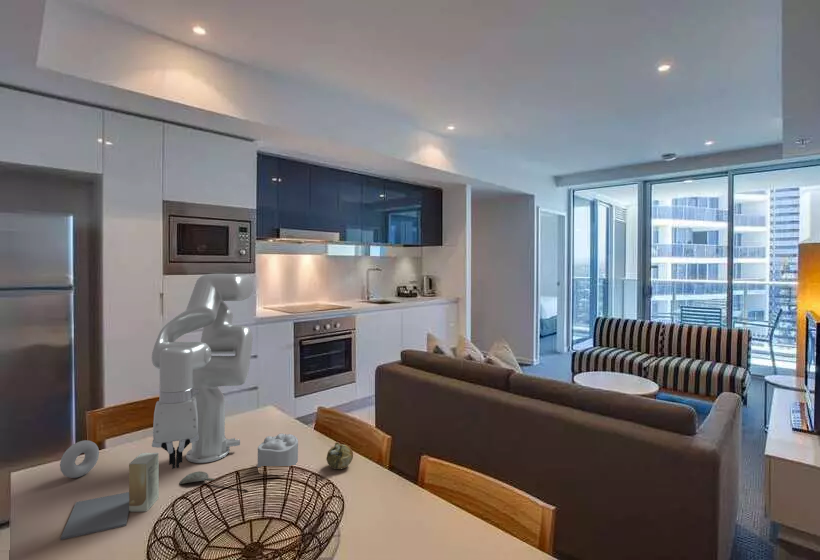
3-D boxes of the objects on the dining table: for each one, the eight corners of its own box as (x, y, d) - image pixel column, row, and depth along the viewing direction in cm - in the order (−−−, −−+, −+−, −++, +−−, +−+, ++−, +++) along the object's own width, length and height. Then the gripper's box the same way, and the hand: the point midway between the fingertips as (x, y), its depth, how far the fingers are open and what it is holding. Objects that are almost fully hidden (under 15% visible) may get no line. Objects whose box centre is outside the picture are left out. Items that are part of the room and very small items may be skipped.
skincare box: (141, 498, 111) (141, 452, 111) (159, 498, 112) (159, 451, 112) (127, 512, 105) (127, 463, 105) (146, 512, 105) (146, 463, 105)
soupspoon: (192, 477, 126) (174, 489, 119) (191, 465, 126) (173, 477, 119) (257, 486, 120) (241, 499, 113) (256, 474, 119) (241, 487, 113)
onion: (355, 470, 129) (355, 444, 129) (328, 474, 127) (329, 447, 126) (350, 460, 136) (350, 435, 136) (324, 463, 134) (324, 438, 134)
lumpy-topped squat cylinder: (252, 473, 127) (252, 444, 126) (274, 454, 139) (275, 428, 139) (285, 477, 125) (285, 447, 124) (304, 458, 137) (305, 431, 137)
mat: (132, 493, 114) (132, 491, 114) (126, 525, 100) (126, 523, 100) (76, 503, 108) (76, 502, 108) (60, 539, 94) (60, 537, 94)
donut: (65, 485, 117) (65, 449, 117) (56, 483, 118) (56, 447, 118) (102, 469, 127) (102, 435, 126) (93, 467, 128) (93, 434, 128)
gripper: (207, 388, 118) (206, 455, 118) (143, 395, 111) (142, 466, 111) (209, 396, 111) (208, 466, 112) (141, 403, 104) (140, 478, 105)
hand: (175, 466), depth 111 cm, fingers closed
